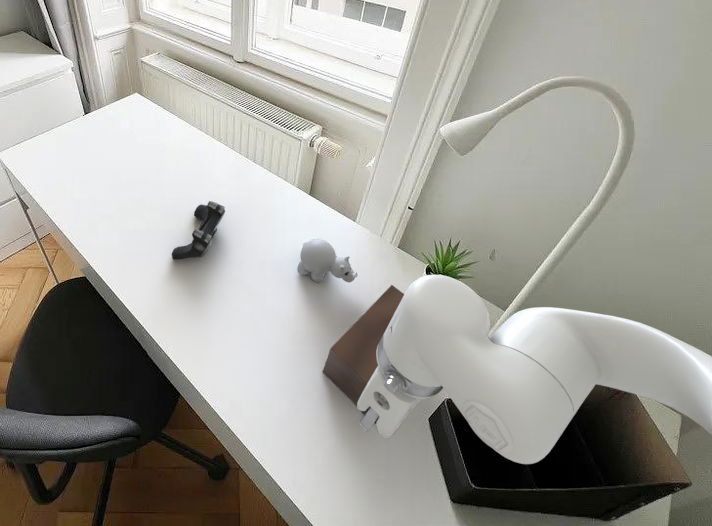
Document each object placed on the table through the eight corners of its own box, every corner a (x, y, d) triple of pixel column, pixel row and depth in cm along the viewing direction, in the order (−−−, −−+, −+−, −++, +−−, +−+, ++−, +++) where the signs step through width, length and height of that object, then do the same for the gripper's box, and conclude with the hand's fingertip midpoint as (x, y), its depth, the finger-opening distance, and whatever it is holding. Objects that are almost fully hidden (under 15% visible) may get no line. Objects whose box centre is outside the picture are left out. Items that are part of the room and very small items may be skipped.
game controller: (193, 275, 91) (211, 257, 84) (167, 258, 90) (183, 239, 83) (218, 222, 102) (236, 202, 95) (195, 207, 102) (212, 186, 95)
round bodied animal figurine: (345, 303, 82) (353, 279, 76) (291, 273, 87) (296, 249, 82) (358, 277, 86) (367, 253, 81) (306, 250, 92) (311, 226, 86)
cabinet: (423, 344, 75) (439, 320, 69) (366, 416, 66) (379, 394, 61) (380, 310, 81) (391, 284, 75) (322, 371, 72) (330, 348, 66)
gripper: (408, 437, 41) (367, 482, 53) (476, 341, 48) (427, 399, 60) (346, 376, 45) (321, 430, 57) (416, 297, 53) (381, 359, 64)
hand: (375, 414), depth 58 cm, fingers closed
